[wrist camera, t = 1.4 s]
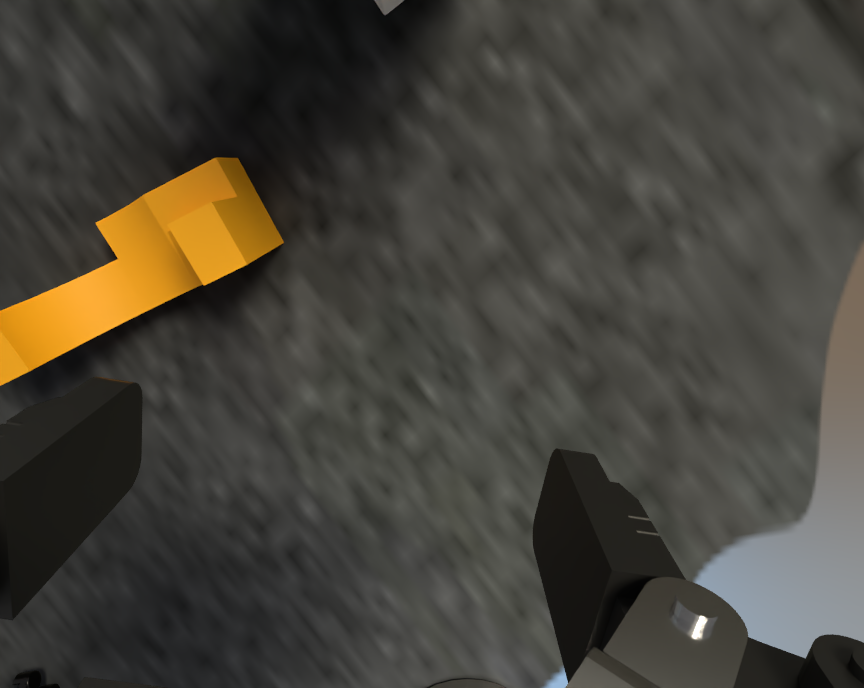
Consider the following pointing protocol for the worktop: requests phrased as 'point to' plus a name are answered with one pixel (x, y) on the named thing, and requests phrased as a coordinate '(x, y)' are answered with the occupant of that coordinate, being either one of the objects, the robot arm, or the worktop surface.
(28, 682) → the valve
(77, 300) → the pipe clamp
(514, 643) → the worktop surface
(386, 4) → the milk
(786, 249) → the worktop surface
